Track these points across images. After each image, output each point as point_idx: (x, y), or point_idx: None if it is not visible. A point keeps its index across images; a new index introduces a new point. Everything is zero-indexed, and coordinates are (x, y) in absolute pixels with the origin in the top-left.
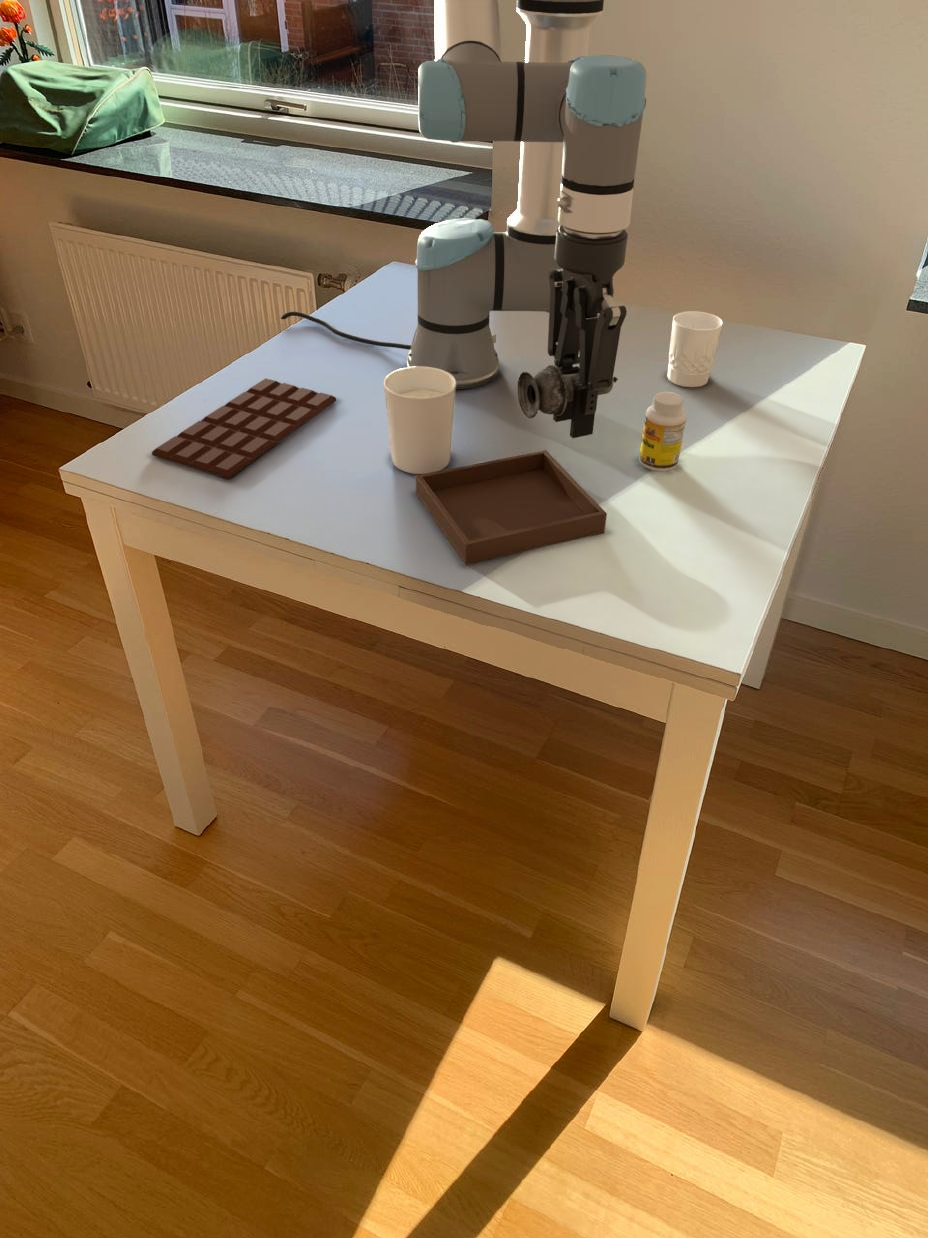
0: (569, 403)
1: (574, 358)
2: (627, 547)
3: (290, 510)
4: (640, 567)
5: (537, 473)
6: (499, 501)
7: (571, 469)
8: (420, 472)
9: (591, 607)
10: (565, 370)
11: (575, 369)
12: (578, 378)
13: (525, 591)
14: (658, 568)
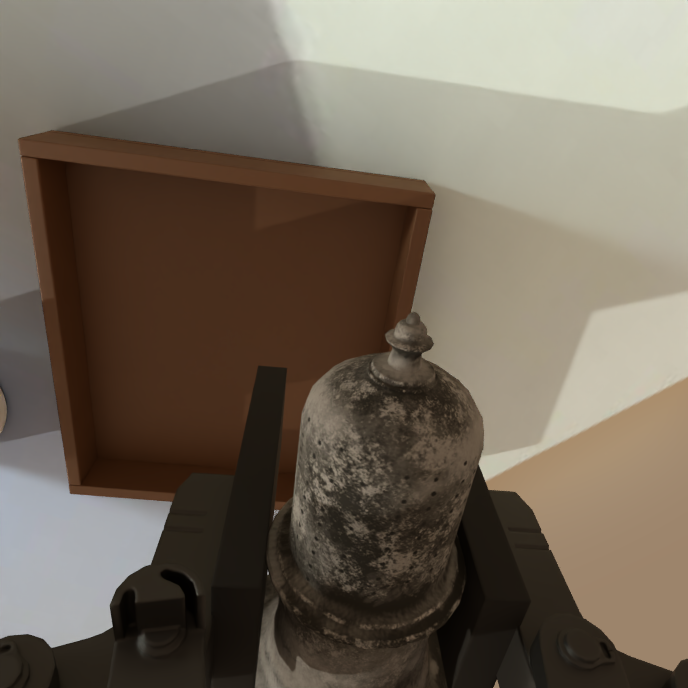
0: (278, 453)
1: (205, 686)
2: (508, 166)
3: (80, 624)
4: (588, 192)
5: (88, 180)
6: (191, 340)
7: (78, 47)
8: (3, 425)
9: (610, 365)
10: (243, 662)
11: (256, 614)
12: (400, 663)
13: (492, 436)
14: (622, 153)
